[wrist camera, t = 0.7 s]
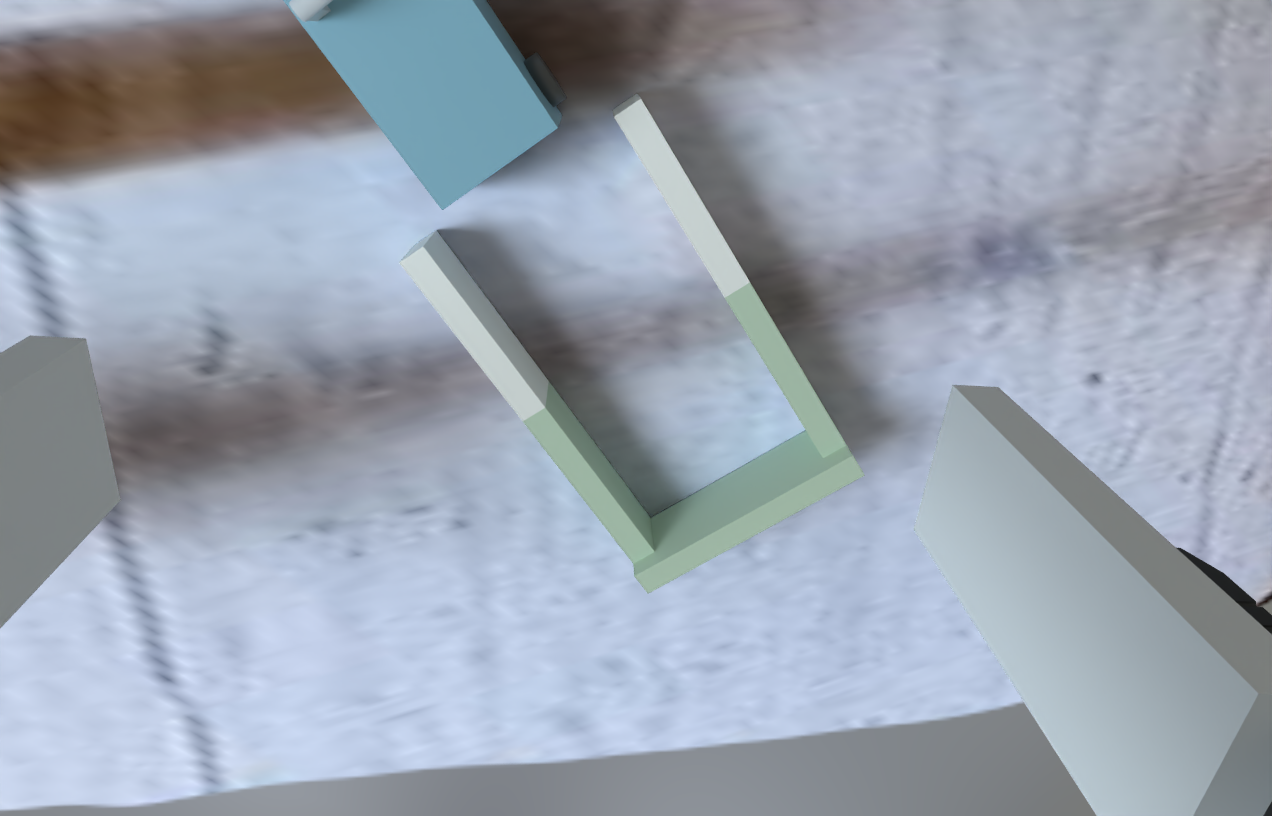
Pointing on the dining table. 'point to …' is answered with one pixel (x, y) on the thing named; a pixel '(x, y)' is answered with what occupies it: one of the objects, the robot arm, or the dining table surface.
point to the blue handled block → (438, 83)
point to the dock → (650, 543)
